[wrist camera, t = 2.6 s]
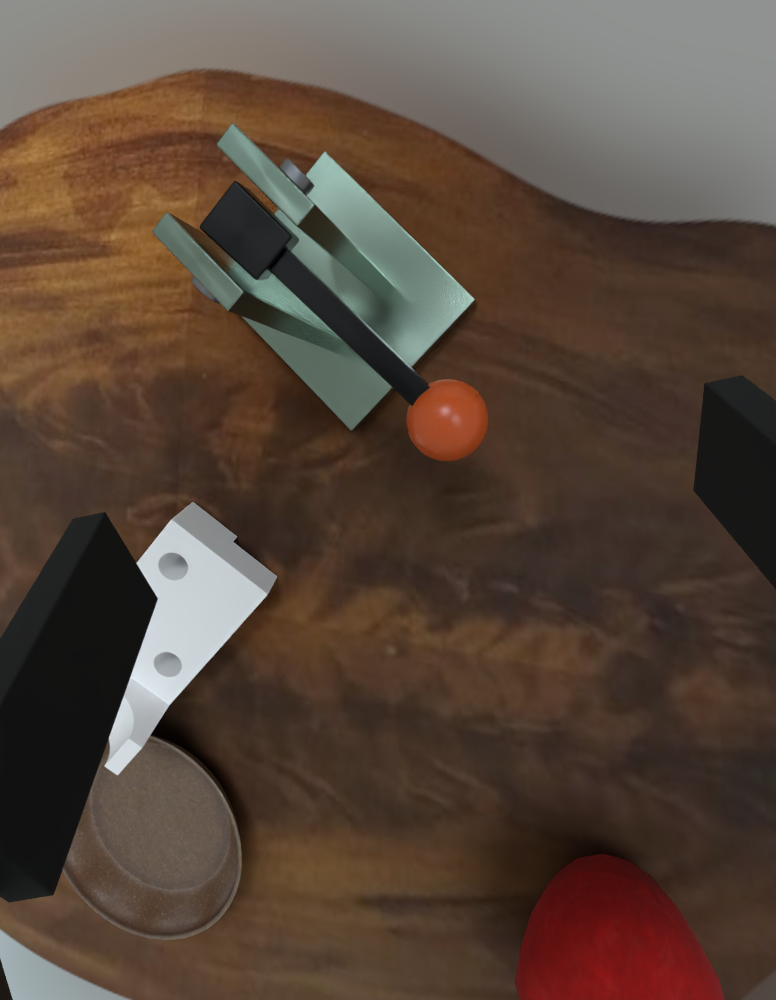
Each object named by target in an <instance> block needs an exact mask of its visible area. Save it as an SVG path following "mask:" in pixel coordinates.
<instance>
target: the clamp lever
mask: <svg viewBox="0 0 776 1000" xmlns="http://www.w3.org/2000/svg"><path fill="white" fill-rule="evenodd" d="M200 229H201V230H202V231H203V232H204V233H205V234H207V235H208V236H209V237H210V238H211V239H212V240H213V241H214V242H215V243H216V244H217V245H218V246H219V247H220V248H222V249H223V250H224V251H225V252H226V253H227V254H228V255H229V256H230V257H231V258H232V259H233V260H234V261H235V262H237V263H238V264H239V265H240V266H241V267H242V268H243V269H244V270H245V271H246V272H247V273H248V274H249V275H250V276H252V277H253V278H254V279H255V280H267V279H268V278H269V277H270V276H271V275H272V274H273V275H274V276H275V277H276V278H277V279H278V280H279V281H280V282H281V283H282V284H284V285H285V286H286V287H287V288H288V289H289V290H290V291H291V292H292V293H293V294H294V295H295V296H296V297H297V298H298V299H299V300H300V301H302V302H303V303H304V304H305V305H306V306H307V307H308V308H309V309H310V310H311V311H312V312H313V313H314V314H315V315H316V316H317V317H318V318H319V319H321V320H322V321H323V322H324V323H325V324H326V325H327V326H328V327H329V328H330V329H331V330H332V331H333V332H334V333H335V334H336V335H337V336H339V337H340V338H341V339H342V340H343V341H344V342H345V343H346V344H347V345H348V346H349V347H350V348H351V349H352V350H353V351H354V352H355V353H356V354H358V355H359V356H360V357H361V358H362V359H363V360H364V361H365V362H366V363H367V364H368V365H369V366H370V367H371V368H372V369H373V370H374V371H376V372H377V373H378V374H379V375H380V376H381V377H382V378H383V379H384V380H385V381H386V382H387V383H388V384H389V385H390V386H391V387H392V388H394V389H395V390H396V391H397V392H398V393H399V394H400V395H401V396H402V397H403V398H404V399H405V400H406V401H407V402H408V403H409V404H410V405H409V408H408V411H407V420H406V423H407V430H408V433H409V436H410V438H411V440H412V442H413V444H414V445H415V446H416V448H417V449H418V450H419V451H421V452H422V453H423V454H425V455H426V456H428V457H430V458H432V459H435V460H439V461H455V460H459V459H462V458H464V457H466V456H468V455H469V454H471V453H472V452H474V451H475V450H476V449H477V448H478V447H479V445H480V444H481V443H482V441H483V439H484V437H485V435H486V432H487V428H488V411H487V407H486V404H485V402H484V400H483V398H482V397H481V395H480V394H479V393H478V392H477V391H476V390H475V389H474V388H473V387H471V386H470V385H468V384H467V383H464V382H462V381H459V380H454V379H441V380H437V381H434V382H431V383H429V384H428V383H427V382H426V381H425V380H424V379H423V378H422V377H421V376H420V375H419V374H418V373H417V372H416V371H415V370H414V369H413V368H412V367H411V366H410V365H408V364H407V363H406V362H405V361H404V360H403V359H402V358H401V357H400V356H399V355H398V354H397V353H396V352H395V351H394V350H393V349H392V348H391V347H390V346H389V345H388V344H387V343H386V342H385V341H384V340H383V339H382V338H381V337H380V336H379V335H377V334H376V333H375V332H374V331H373V330H372V329H371V328H370V327H369V326H368V325H367V324H366V323H365V322H364V321H363V320H362V319H361V318H360V317H359V316H358V315H357V314H356V313H355V312H354V311H353V310H352V309H351V308H350V307H349V306H347V305H346V304H345V303H344V302H343V301H342V300H341V299H340V298H339V297H338V296H337V295H336V294H335V293H334V292H333V291H332V290H331V289H330V288H329V287H328V286H327V285H326V284H325V283H324V282H323V281H322V280H321V279H320V278H319V277H318V276H316V275H315V274H314V273H313V272H312V271H311V270H310V269H309V268H308V267H307V266H306V265H305V264H304V263H303V262H302V261H301V260H300V259H299V258H298V257H297V256H296V255H295V254H294V253H293V252H292V251H291V250H292V249H293V248H294V247H295V246H296V244H297V243H298V242H299V238H298V237H297V236H296V235H295V234H294V233H293V232H292V231H291V230H290V229H289V228H288V227H287V226H286V225H285V224H284V223H283V222H282V221H281V220H280V219H279V218H278V217H277V216H276V215H275V214H274V213H273V212H272V211H271V210H270V209H269V208H268V207H267V206H266V205H264V204H263V203H262V202H261V201H260V200H259V199H258V198H257V197H256V196H255V195H254V194H253V193H252V192H251V191H250V190H249V189H248V188H246V187H244V186H243V185H241V184H240V183H238V182H236V181H234V182H233V183H232V184H231V186H230V187H229V188H228V190H227V191H226V192H225V194H224V195H223V196H222V198H221V199H220V200H219V201H218V203H217V204H216V205H215V207H214V208H213V209H212V211H211V212H210V213H209V214H208V216H207V217H206V218H205V220H204V221H203V222H202V224H201V225H200Z"/></svg>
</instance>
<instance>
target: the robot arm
mask: <svg viewBox="0 0 776 1000" xmlns="http://www.w3.org/2000/svg"><path fill="white" fill-rule="evenodd" d="M694 492H695V493H696V494H697V495H698V496H699V498H700V499H701V500H702V501H703V502H704V504H705V505H706V506H707V507H708V508H709V510H710V511H711V512H712V513H713V514H714V516H715V517H716V518H717V519H718V520H719V522H720V523H721V524H722V525H723V526H724V528H725V529H726V530H727V531H728V532H729V534H730V535H731V536H732V537H733V538H734V540H735V541H736V542H737V543H738V544H739V546H740V547H741V548H742V549H743V550H744V552H745V553H746V554H747V555H748V556H749V558H750V559H751V560H752V561H753V562H754V564H755V565H756V566H757V567H758V568H759V570H760V571H761V572H762V573H763V574H764V576H765V577H766V578H767V579H768V580H769V582H770V583H771V584H772V585H773V586H774V587H775V589H776V401H775V400H774V399H773V398H771V397H770V396H769V395H767V394H766V393H765V392H763V391H762V390H761V389H760V388H758V387H757V386H756V385H754V384H753V383H752V382H750V381H749V380H748V379H746V378H745V377H744V376H743V375H742V376H738V377H733V378H728V379H724V380H719V381H714V382H710V383H705V384H704V394H703V404H702V414H701V423H700V433H699V443H698V452H697V462H696V472H695V482H694ZM157 600H158V598H157V596H156V594H155V593H154V591H153V590H152V588H151V586H150V585H149V583H148V581H147V580H146V578H145V577H144V575H143V573H142V572H141V570H140V568H139V567H138V565H137V563H136V562H135V560H134V559H133V557H132V555H131V554H130V552H129V550H128V549H127V547H126V545H125V544H124V542H123V541H122V539H121V537H120V536H119V534H118V532H117V531H116V529H115V527H114V526H113V524H112V523H111V521H110V519H109V518H108V516H107V514H106V513H105V512H104V513H99V514H94V515H90V516H85V517H80V518H76V519H73V520H72V521H71V523H70V525H69V526H68V528H67V529H66V531H65V533H64V534H63V536H62V538H61V539H60V541H59V543H58V544H57V546H56V548H55V549H54V551H53V553H52V554H51V556H50V558H49V559H48V561H47V562H46V564H45V566H44V567H43V569H42V571H41V572H40V574H39V576H38V577H37V579H36V581H35V582H34V584H33V586H32V587H31V589H30V591H29V592H28V594H27V595H26V597H25V599H24V600H23V602H22V604H21V605H20V607H19V609H18V610H17V612H16V614H15V615H14V617H13V619H12V620H11V622H10V623H9V625H8V627H7V628H6V630H5V632H4V633H3V635H2V637H1V638H0V897H2V898H3V899H5V900H6V901H7V902H14V901H20V900H26V899H32V898H38V897H45V896H51V895H54V892H55V889H56V887H57V884H58V881H59V878H60V875H61V872H62V870H63V867H64V864H65V861H66V858H67V855H68V853H69V850H70V847H71V844H72V841H73V838H74V836H75V833H76V830H77V827H78V824H79V821H80V819H81V816H82V813H83V810H84V807H85V804H86V802H87V799H88V796H89V793H90V790H91V787H92V785H93V782H94V779H95V776H96V773H97V770H98V768H99V765H100V762H101V759H102V756H103V753H104V751H105V748H106V745H107V742H108V739H109V736H110V734H111V731H112V728H113V725H114V722H115V719H116V717H117V714H118V711H119V708H120V705H121V702H122V700H123V697H124V694H125V691H126V688H127V685H128V683H129V680H130V677H131V674H132V671H133V668H134V666H135V663H136V660H137V657H138V654H139V651H140V649H141V646H142V643H143V640H144V637H145V634H146V632H147V629H148V626H149V623H150V620H151V617H152V615H153V612H154V609H155V606H156V603H157ZM0 1000H13V999H12V996H11V993H10V990H9V986H8V983H7V980H6V976H5V973H4V970H3V967H2V963H1V960H0Z"/></svg>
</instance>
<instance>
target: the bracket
mask: <svg viewBox="0 0 776 1000" xmlns="http://www.w3.org/2000/svg"><path fill="white" fill-rule="evenodd" d="M236 538H237V536H236V535H235V534H233V533H232V532H231V531H230V530H228V529H227V528H226V527H224V526H223V525H222V524H221V523H219V522H218V521H217V520H216V519H214V518H213V517H212V516H211V515H209V514H208V513H207V512H205V511H204V510H203V509H202V508H200V507H199V506H198V505H197V504H195V503H194V502H192V503H191V504H190V505H188V506H187V507H186V508H185V509H183V510H182V511H181V512H180V513H179V514H177V515H176V516H175V517H174V518H172V519H171V520H170V522H169V523H168V524H167V525H166V527H165V528H164V529H163V531H162V532H161V533H160V534H159V536H158V537H157V538H156V539H155V541H154V542H153V543H152V544H151V546H150V547H149V548H148V549H147V551H146V552H145V553H144V554H143V556H142V557H141V558H140V559H139V561H138V562H137V565H138V567H139V568H140V570H141V572H142V573H143V575H144V577H145V578H146V580H147V581H148V583H149V585H150V586H151V588H152V590H153V591H154V593H155V594H156V596H157V598H158V600H157V603H156V606H155V609H154V612H153V615H152V617H151V620H150V623H149V626H148V629H147V632H146V634H145V637H144V640H143V643H142V646H141V649H140V651H139V654H138V657H137V660H136V663H135V666H134V668H133V671H132V674H131V677H130V680H129V683H128V685H127V688H126V691H125V694H124V697H123V700H122V702H121V705H120V708H119V711H118V714H117V717H116V719H115V722H114V725H113V728H112V731H111V734H110V736H109V742H110V753H109V757H108V760H107V762H106V764H105V767H106V768H107V769H109V770H110V771H112V772H113V773H115V774H116V775H118V774H119V773H120V772H121V771H122V770H123V769H124V768H125V767H126V765H127V764H128V763H129V762H130V761H131V760H132V759H133V758H134V757H135V755H136V754H137V753H138V752H139V751H140V750H141V749H142V747H143V746H144V744H145V743H146V741H147V740H148V738H149V737H150V735H151V733H152V732H153V730H154V729H155V727H156V726H157V724H158V722H159V721H160V719H161V718H162V716H163V715H164V713H165V711H166V710H167V708H168V707H169V705H170V704H171V703H172V702H173V701H174V700H175V698H176V697H177V696H178V695H179V694H180V693H181V692H182V691H183V689H184V688H185V687H186V686H187V685H188V684H189V683H190V682H191V680H192V679H193V678H194V677H195V676H196V675H197V674H198V673H199V671H200V670H201V669H202V668H203V667H204V666H205V665H206V664H207V662H208V661H209V660H210V659H211V658H212V657H213V656H214V655H215V653H216V652H217V651H218V650H219V649H220V648H221V647H222V646H223V644H224V643H225V642H226V641H227V640H228V639H229V638H230V637H231V635H232V634H233V633H234V632H235V631H236V630H237V629H238V628H239V626H240V625H241V624H242V623H243V622H244V621H245V620H246V619H247V617H248V616H249V615H250V614H251V613H252V612H253V611H254V610H255V608H256V607H257V606H258V605H259V604H260V603H261V602H262V601H263V599H264V598H265V597H266V596H267V595H268V593H269V592H270V590H271V588H272V586H273V584H274V582H275V580H276V578H277V576H276V575H275V574H274V573H272V572H271V571H270V570H268V569H267V568H266V567H265V566H263V565H262V564H261V563H260V562H258V561H257V560H256V559H254V558H253V557H252V556H251V555H249V554H248V553H247V552H246V551H244V550H243V549H242V548H240V547H239V546H238V545H237V544H235V543H234V542H233V541H234V540H235V539H236Z"/></svg>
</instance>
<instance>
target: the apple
mask: <svg viewBox="0 0 776 1000" xmlns="http://www.w3.org/2000/svg"><path fill="white" fill-rule="evenodd" d="M515 984H516V988H517V992H518V996H519V1000H724V996H723V992H722V988H721V984H720V981H719V978H718V976H717V974H716V973H715V971H714V969H713V967H712V965H711V964H710V962H709V960H708V958H707V956H706V954H705V953H704V951H703V949H702V947H701V945H700V943H699V942H698V940H697V938H696V936H695V935H694V933H693V932H692V930H691V928H690V927H689V925H688V924H687V922H686V920H685V919H684V917H683V916H682V914H681V913H680V911H679V909H678V908H677V906H676V905H675V904H674V903H673V902H672V900H671V899H670V898H669V897H668V896H667V895H666V893H665V892H664V891H663V890H662V889H661V888H660V886H659V885H658V884H657V883H656V882H655V880H654V879H653V878H652V877H651V876H650V875H648V874H647V873H645V872H644V871H643V870H641V869H640V868H638V867H637V866H636V865H634V864H633V863H631V862H630V861H628V860H625V859H621V858H617V857H614V856H610V855H606V854H597V855H592V856H586V857H580V858H577V859H576V860H574V861H573V862H571V863H569V864H568V865H566V866H565V867H563V868H561V869H560V870H559V871H558V872H557V873H556V875H555V876H554V877H553V878H552V879H551V881H550V882H549V883H548V884H547V886H546V887H545V889H544V891H543V893H542V895H541V897H540V898H539V900H538V902H537V904H536V906H535V907H534V909H533V911H532V913H531V915H530V918H529V922H528V925H527V928H526V932H525V935H524V939H523V942H522V945H521V949H520V955H519V961H518V967H517V973H516V980H515Z"/></svg>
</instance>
